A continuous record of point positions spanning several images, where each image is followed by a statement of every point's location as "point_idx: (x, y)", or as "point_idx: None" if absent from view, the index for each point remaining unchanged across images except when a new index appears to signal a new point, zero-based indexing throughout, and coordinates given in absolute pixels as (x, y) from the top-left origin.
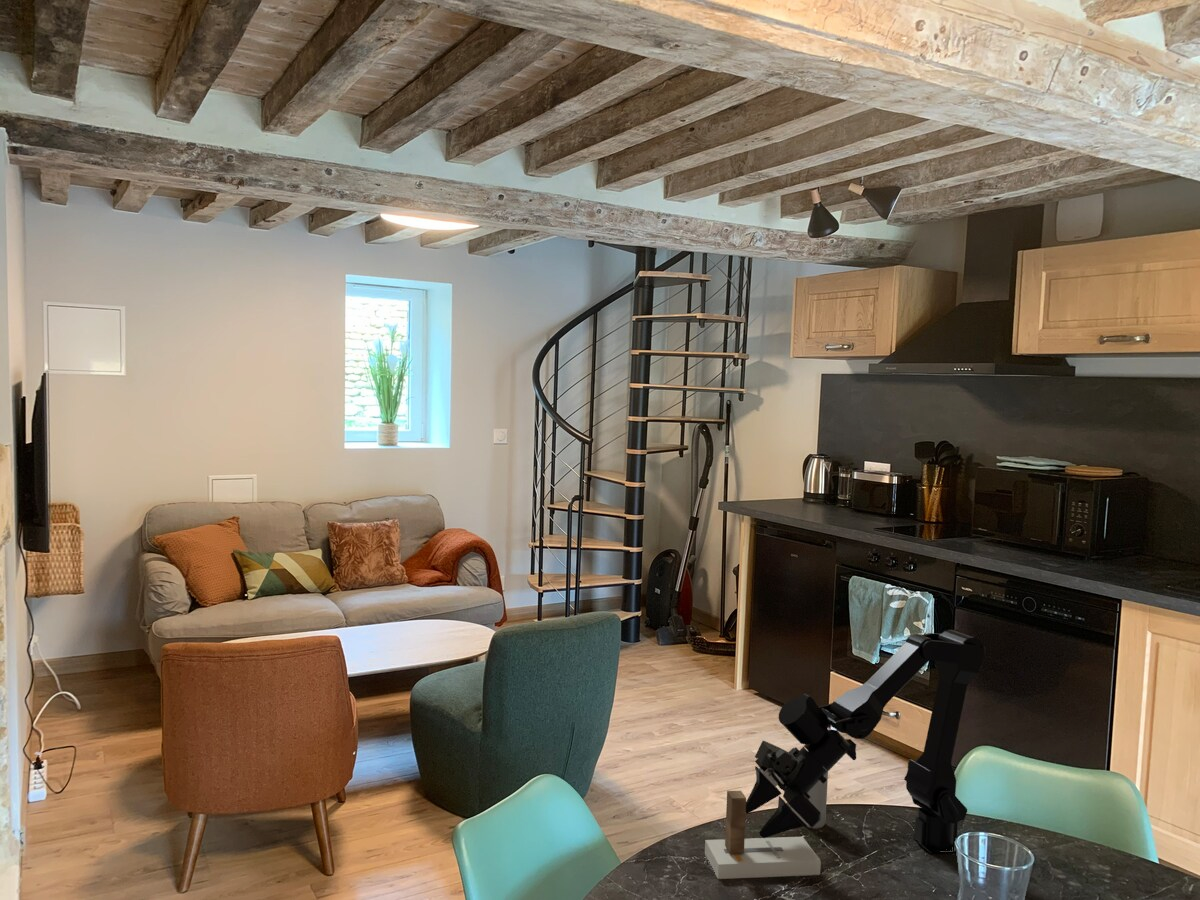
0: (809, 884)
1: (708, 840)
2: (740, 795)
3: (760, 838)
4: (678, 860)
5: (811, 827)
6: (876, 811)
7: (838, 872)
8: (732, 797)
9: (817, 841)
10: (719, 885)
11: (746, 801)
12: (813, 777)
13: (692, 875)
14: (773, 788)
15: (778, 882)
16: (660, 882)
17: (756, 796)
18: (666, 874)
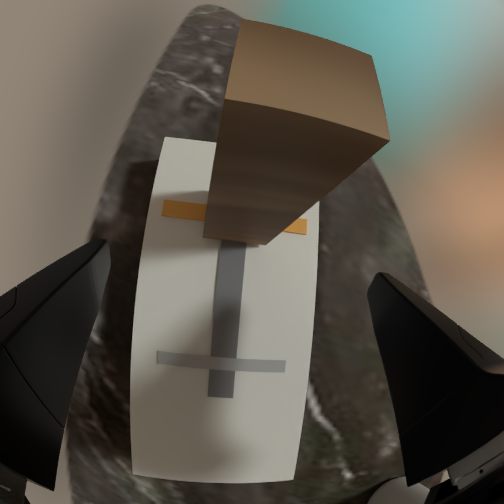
0: (92, 402)
1: None
2: (288, 80)
3: (308, 348)
4: None
5: (372, 494)
6: None
7: (151, 495)
8: (256, 25)
9: (315, 500)
10: (138, 152)
11: (414, 292)
12: None
13: (203, 111)
14: (440, 458)
15: (111, 322)
16: (194, 54)
17: (423, 347)
18: (222, 70)
